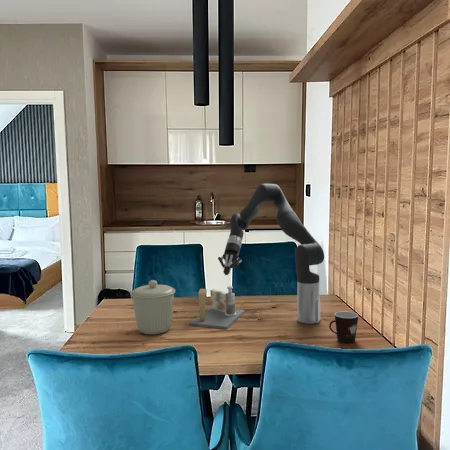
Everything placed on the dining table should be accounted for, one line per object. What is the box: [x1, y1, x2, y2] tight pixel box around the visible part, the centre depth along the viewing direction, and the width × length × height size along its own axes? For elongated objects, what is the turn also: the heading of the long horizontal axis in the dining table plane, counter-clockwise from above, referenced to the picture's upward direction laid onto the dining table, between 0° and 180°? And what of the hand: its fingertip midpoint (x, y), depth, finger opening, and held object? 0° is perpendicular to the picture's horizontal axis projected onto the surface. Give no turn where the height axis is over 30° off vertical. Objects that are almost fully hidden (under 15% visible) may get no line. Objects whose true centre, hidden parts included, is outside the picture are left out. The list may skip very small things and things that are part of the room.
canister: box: [130, 279, 176, 335], centre depth 184 cm, size 18×18×21 cm
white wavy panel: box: [209, 288, 236, 314], centre depth 204 cm, size 15×4×9 cm, turn 40°
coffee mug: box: [328, 310, 359, 345], centre depth 168 cm, size 12×9×10 cm
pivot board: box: [188, 285, 246, 330], centre depth 198 cm, size 17×24×14 cm
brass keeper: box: [198, 288, 208, 321], centre depth 196 cm, size 8×3×13 cm, turn 178°
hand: (226, 274), depth 223 cm, fingers closed
